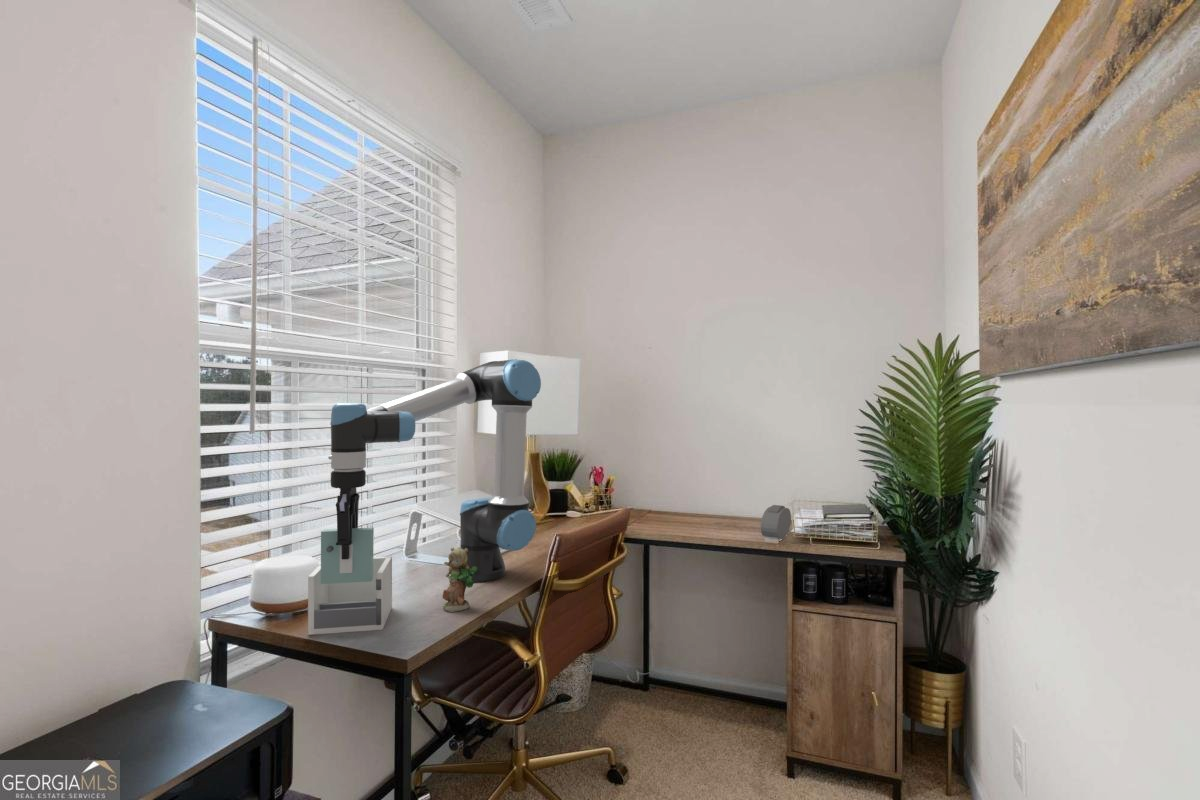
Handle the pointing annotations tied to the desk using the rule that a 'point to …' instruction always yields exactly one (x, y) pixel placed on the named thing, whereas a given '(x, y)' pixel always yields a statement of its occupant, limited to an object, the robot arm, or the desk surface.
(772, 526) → the alarm clock
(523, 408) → the robot arm
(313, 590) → the cabinet
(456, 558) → the figurine
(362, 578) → the door
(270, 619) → the desk surface
